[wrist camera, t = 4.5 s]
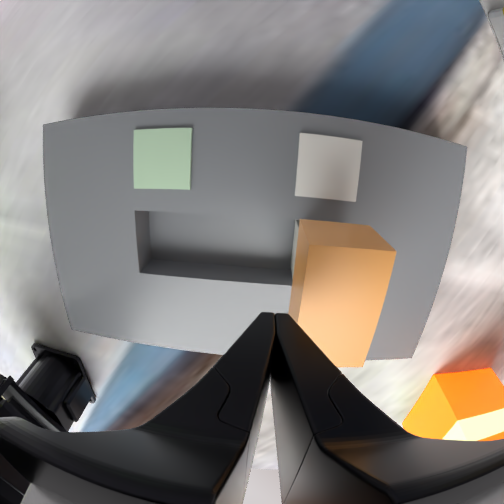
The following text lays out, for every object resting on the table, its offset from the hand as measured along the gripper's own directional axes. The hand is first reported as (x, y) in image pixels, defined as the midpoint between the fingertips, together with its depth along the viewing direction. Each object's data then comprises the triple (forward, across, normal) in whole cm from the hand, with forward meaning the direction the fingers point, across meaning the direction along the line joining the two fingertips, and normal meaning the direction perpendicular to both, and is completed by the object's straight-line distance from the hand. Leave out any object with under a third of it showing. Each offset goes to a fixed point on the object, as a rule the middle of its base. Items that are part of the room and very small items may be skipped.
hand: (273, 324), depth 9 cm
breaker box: (+10, +2, 0) cm, 10 cm away
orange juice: (+10, -20, +16) cm, 28 cm away
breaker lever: (+8, -2, 0) cm, 9 cm away
